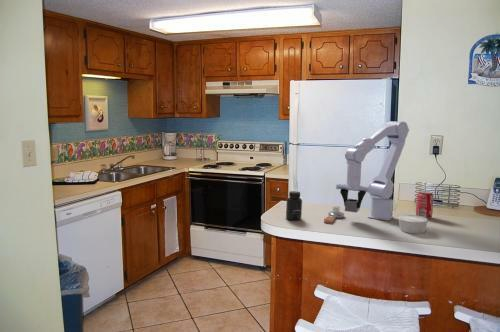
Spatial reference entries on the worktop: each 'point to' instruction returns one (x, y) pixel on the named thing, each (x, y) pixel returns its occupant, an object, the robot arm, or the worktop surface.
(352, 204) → the socket
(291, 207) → the supplement bottle
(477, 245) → the worktop surface
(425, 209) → the soda can
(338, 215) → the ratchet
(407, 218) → the ramekin
